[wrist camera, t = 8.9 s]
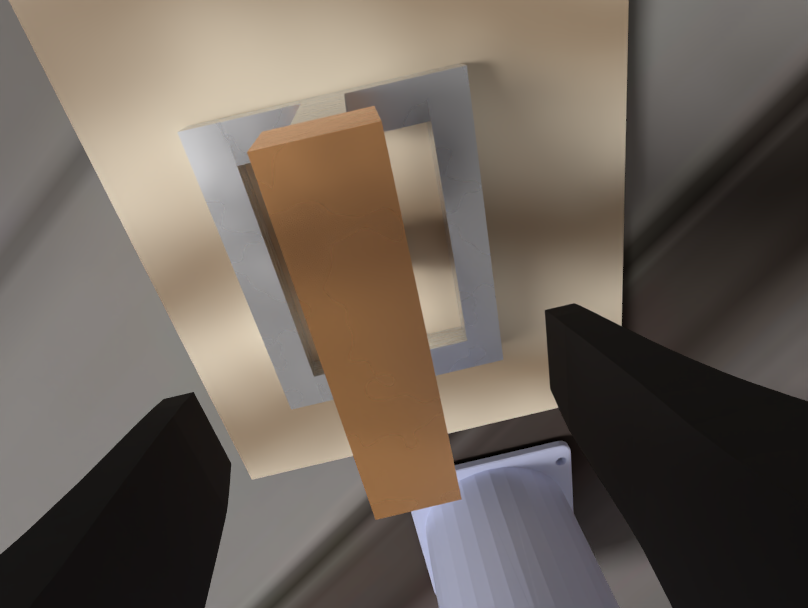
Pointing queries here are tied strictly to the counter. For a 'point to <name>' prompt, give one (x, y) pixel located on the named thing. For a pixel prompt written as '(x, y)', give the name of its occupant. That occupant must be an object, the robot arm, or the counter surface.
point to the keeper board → (410, 161)
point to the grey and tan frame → (358, 265)
